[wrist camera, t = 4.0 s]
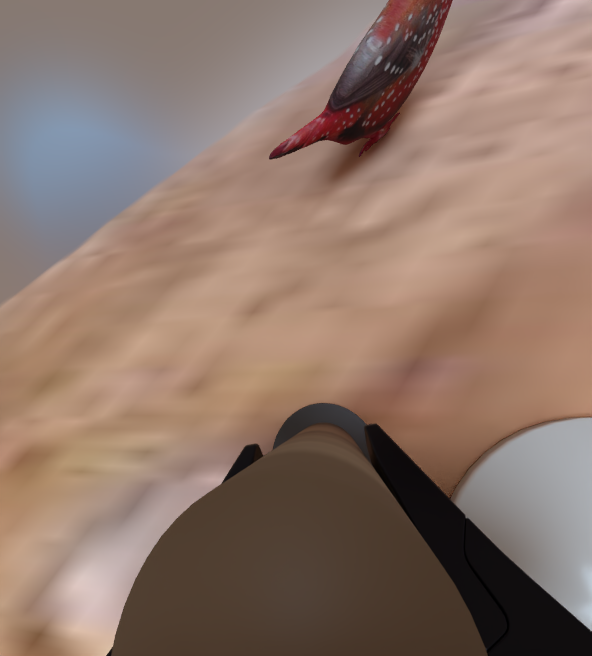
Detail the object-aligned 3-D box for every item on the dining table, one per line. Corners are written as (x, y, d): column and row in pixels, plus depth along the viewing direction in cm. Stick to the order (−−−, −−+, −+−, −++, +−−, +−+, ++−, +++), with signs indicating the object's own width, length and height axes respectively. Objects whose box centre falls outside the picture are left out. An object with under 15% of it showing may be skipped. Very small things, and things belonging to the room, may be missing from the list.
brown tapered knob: (366, 530, 13) (742, 1889, 1) (264, 493, 15) (-115, 953, 2) (385, 419, 15) (642, 462, 3) (291, 392, 16) (151, 333, 4)
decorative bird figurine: (443, 93, 22) (529, -155, 12) (302, 243, 19) (272, 78, 10) (412, 82, 22) (470, -158, 13) (274, 224, 20) (220, 55, 10)
